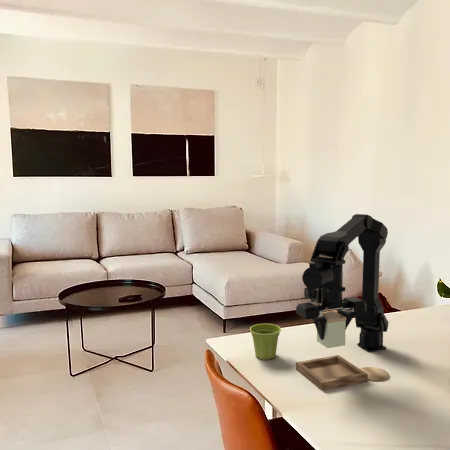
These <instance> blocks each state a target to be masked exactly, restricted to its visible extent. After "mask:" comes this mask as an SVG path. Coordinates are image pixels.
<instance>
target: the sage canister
mask: <svg viewBox="0 0 450 450" xmlns="http://www.w3.org/2000/svg"><path fill="white" fill-rule="evenodd" d="M323 317H325V318H326V323H325V334H324V339H323V340H321V339H320V337H319V334H318V331H317V330H316V342H317V343H319V344H321V346H323V347H325V348H326V349H332V348H338V347H344V346H346V330H345V327H346V317H345V316H343V315H341V314H339V313H337V311H336V310H334V311H327V312H323Z"/></svg>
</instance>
